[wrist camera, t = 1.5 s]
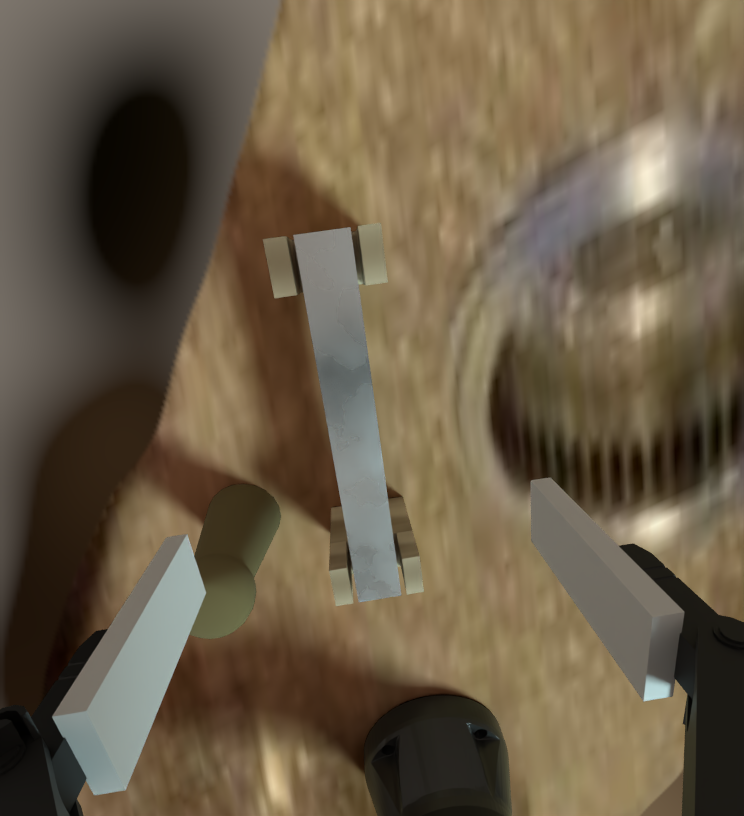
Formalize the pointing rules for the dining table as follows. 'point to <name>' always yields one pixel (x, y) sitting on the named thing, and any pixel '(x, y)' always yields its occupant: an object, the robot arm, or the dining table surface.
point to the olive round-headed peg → (232, 556)
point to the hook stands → (340, 564)
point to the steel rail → (349, 405)
